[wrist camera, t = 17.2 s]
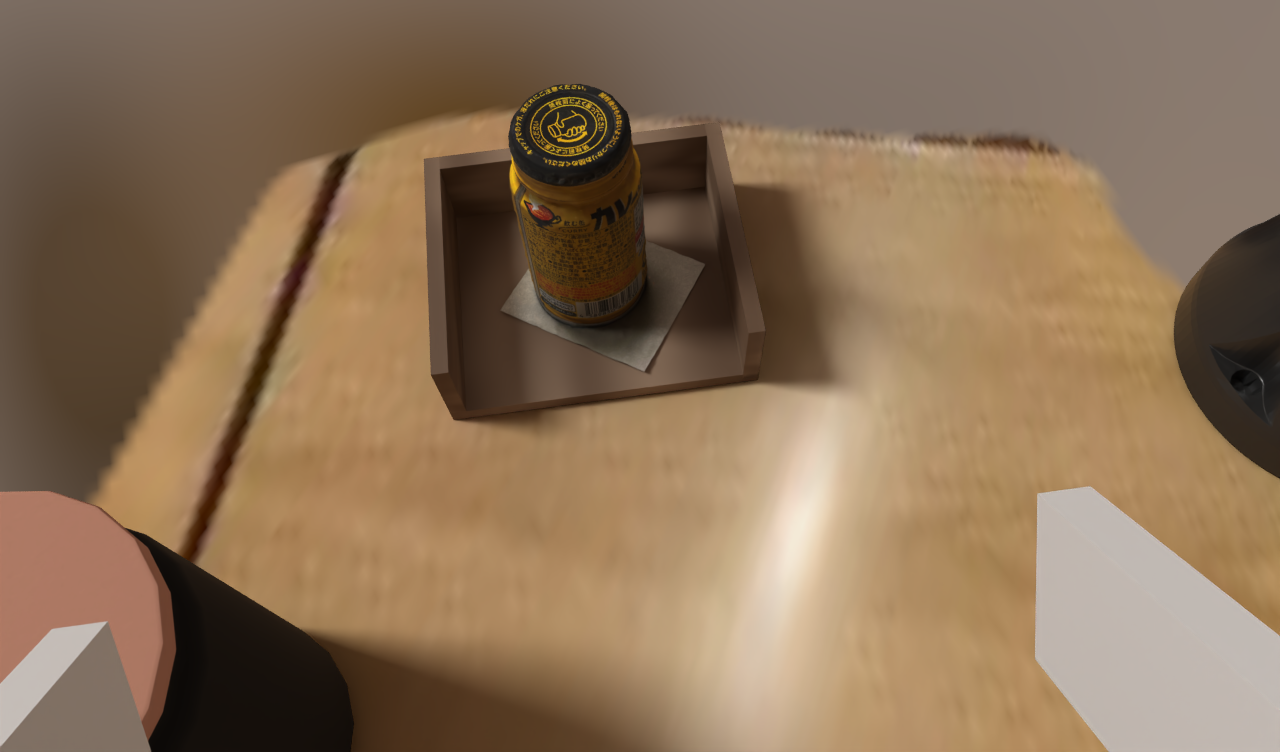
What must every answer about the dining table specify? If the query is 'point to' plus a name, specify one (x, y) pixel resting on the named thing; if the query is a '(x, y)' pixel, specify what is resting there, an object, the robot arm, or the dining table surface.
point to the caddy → (551, 365)
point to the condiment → (589, 229)
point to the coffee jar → (167, 633)
